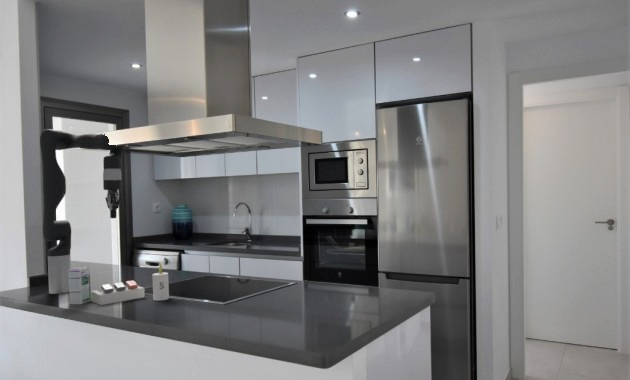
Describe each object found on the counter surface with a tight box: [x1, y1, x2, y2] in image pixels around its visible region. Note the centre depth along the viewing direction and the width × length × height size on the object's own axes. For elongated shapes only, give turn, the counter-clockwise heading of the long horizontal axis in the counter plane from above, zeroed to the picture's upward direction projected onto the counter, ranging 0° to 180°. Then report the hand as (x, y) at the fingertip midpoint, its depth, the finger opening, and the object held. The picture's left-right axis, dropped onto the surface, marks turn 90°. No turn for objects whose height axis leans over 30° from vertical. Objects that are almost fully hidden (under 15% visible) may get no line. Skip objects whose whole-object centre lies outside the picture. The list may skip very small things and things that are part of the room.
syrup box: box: [68, 266, 92, 305], centre depth 197 cm, size 6×6×14 cm
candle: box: [151, 262, 170, 301], centre depth 199 cm, size 6×6×15 cm
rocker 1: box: [101, 283, 114, 293], centre depth 196 cm, size 5×3×2 cm, turn 41°
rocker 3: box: [125, 280, 139, 289], centre depth 203 cm, size 5×3×2 cm, turn 41°
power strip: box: [90, 285, 153, 306], centre depth 203 cm, size 12×24×5 cm, turn 131°
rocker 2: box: [113, 281, 127, 291], centre depth 200 cm, size 5×3×2 cm, turn 41°
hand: (113, 218), depth 211 cm, fingers closed
